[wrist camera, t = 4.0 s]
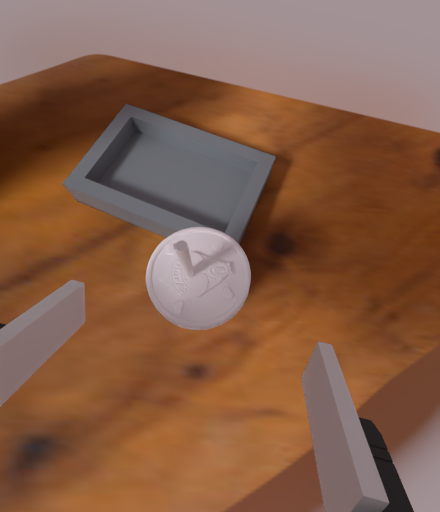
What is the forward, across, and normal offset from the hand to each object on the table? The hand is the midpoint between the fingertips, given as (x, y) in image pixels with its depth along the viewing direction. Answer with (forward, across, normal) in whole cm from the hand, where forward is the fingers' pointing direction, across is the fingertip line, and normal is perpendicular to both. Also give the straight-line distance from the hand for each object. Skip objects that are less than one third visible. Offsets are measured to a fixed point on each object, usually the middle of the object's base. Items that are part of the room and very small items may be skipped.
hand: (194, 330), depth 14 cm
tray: (+17, -7, +4) cm, 19 cm away
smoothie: (+9, -1, -4) cm, 10 cm away
